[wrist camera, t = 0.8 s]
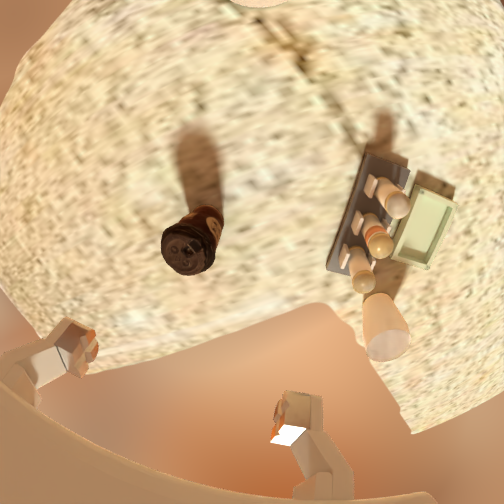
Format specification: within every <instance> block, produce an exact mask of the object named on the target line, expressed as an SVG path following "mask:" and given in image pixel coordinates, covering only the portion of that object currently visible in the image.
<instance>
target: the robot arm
mask: <svg viewBox="0 0 504 504" xmlns="http://www.w3.org/2000/svg"><path fill="white" fill-rule="evenodd" d="M230 1H232V2H234V3H236V4H239V5H243V6H247V7H257V8H259V7H270V6H275V5H279V4H282V3H284V2H286V1H288V0H230ZM95 336H96V333H95V330H93V329H91V328H89V327H87V326H85V325H83V324H81V323H79V322H77V321H75V320H73V319H71V318H69V317H65V318H63V319H62V320H61V321H60V323H59V324H58V325H57V326H56V327H55V328H54V329H53V331H52V332H51V333H50V334H49V335H48V337H47V338H46V339H43V338H42V339H40V340H37V341H34V342H31V343H29V344H26V345H23V346H21V347H18V348H16V349H13V350H10V351H7V352H4V354H3V355H2V356H1V357H0V504H438V503H437V502H436V500H435V499H434V498H433V497H432V496H431V495H430V494H428V493H427V492H417V493H411V494H405V495H399V496H392V497H383V498H373V499H360V500H354V471H353V470H352V469H351V467H350V466H349V464H348V463H347V461H346V460H345V458H344V457H343V456H342V454H341V453H340V451H339V449H338V448H337V447H336V445H335V443H334V442H333V441H332V439H331V437H330V436H329V434H328V433H327V432H326V431H323V398H322V396H317V395H310V394H305V393H300V392H293V391H287V390H286V391H284V393H283V395H282V399H280V400H279V401H278V403H277V405H276V408H275V412H274V417H273V420H274V422H275V423H276V424H275V425H274V427H273V428H272V433H271V441H270V442H272V443H277V444H283V445H289V446H290V448H291V450H292V452H293V454H294V456H295V458H296V460H297V463H298V465H299V467H300V469H301V471H302V473H303V474H304V477H305V479H306V480H305V481H303V482H302V483H300V484H298V485H297V486H295V487H294V488H293V497H292V499H285V498H275V497H265V496H259V495H251V494H245V493H240V492H234V491H229V490H224V489H219V488H215V487H211V486H207V485H203V484H199V483H195V482H192V481H188V480H185V479H181V478H178V477H175V476H172V475H169V474H165V473H163V472H160V471H157V470H154V469H151V468H149V467H146V466H143V465H141V464H138V463H136V462H133V461H131V460H129V459H126V458H124V457H122V456H119V455H117V454H115V453H113V452H111V451H109V450H107V449H104V448H102V447H100V446H98V445H96V444H94V443H92V442H90V441H88V440H87V439H85V438H83V437H81V436H79V435H77V434H76V433H74V432H72V431H71V430H69V429H67V428H66V427H64V426H62V425H61V424H59V423H57V422H56V421H54V420H53V419H51V418H50V417H48V416H47V415H45V414H44V413H42V412H40V411H39V410H38V409H37V407H38V406H39V404H40V402H41V401H42V397H41V395H40V394H39V392H38V391H37V389H38V388H40V387H41V386H43V385H45V384H47V383H49V382H50V381H52V380H54V379H56V378H58V377H59V376H61V375H63V374H65V373H67V372H69V373H71V374H73V375H75V376H77V377H79V378H81V379H82V378H83V376H84V375H85V373H86V372H87V370H88V369H89V366H88V363H90V362H93V361H94V359H95V358H96V356H97V353H98V349H99V345H98V342H97V340H96V339H95Z"/></svg>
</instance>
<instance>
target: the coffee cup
mask: <svg viewBox="0 0 504 504" xmlns="http://www.w3.org/2000/svg"><path fill="white" fill-rule="evenodd" d="M223 226H224V221H223V218H222V215H221V214H220V212H219V211H218V210H217V209H216V208H214V207H213V206H212V205H200V206H198V207H197V208H196V209H195V210H194V211H193V213H189V214H188V215H186V216H185V217H183V218H182V219H181V220H180V221H179V222H178V223H176V224H174V225H173V226H171V227H169V228H167V229H165V231H164V232H163V234H162V239H161V253H162V255H163V258H164V260H165V261H166V263H167V264H168V265H169V266H170V267H171V268H173V269H174V270H175V271H176V272H177V273H179V274H181V275H187V276H191V275H195V274H198V273H201V272H203V271H206V270H207V269H208V268H209V267H211V265H212V264H213V262H214V260H215V253H216V252H215V251H216V248H217V245H218V242H219V239H220V236H221V232H222V229H223Z"/></svg>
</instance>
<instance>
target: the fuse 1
mask: <svg viewBox="0 0 504 504" xmlns="http://www.w3.org/2000/svg"><path fill="white" fill-rule="evenodd" d="M349 252H350V256H349V258H348V260H347V264H348V267H349V271H350V275H351V279H352V284H353V288H354V290H355V291H356V292H358V293H361V294H364V293H368V292H370V291H371V290H373V289H374V287H375V285H376V279H375V276H374V274H373V272H372V269H371V267H370V264H369V261H368V259H367V256H366V253H365V251H364V249H363V248H362V247H361V246H352V247H350V248H349Z"/></svg>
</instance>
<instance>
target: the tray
mask: <svg viewBox="0 0 504 504" xmlns="http://www.w3.org/2000/svg"><path fill="white" fill-rule="evenodd" d="M410 202H411V208H410V211H409V213H408V214H407V215H406V216H405V217H403V218H402V220H401V222H400V225H399V227H398V229H397V232H396V234H395V236H394V239H393V245H394V246H393V250H392V252H391V254H390V255H389V257H390V259H391V260H395V261H398V262H402V263H405V264H408V265H412V266H415V267H418V268H422V269H425V270H429V268H430V266H431V264H432V262H433V260H434V258H435V257H436V255H437V253H438V250H439V248H440V246H441V244H442V242H443V240H444V238H445V236H446V234H447V231H448V229H449V227H450V225H451V222H452V220H453V218H454V215H455V213H456V211H457V208H458V206H459V205H458V204H457V203H456V202H454V201H453V200H451V199H449V198H447V197H445V196H442V195H440V194H438V193H436V192H433V191H431V190H429V189H427V188H424V187H422V186H420V185H417V184H415V186H414V189H413V192H412V194H411V197H410Z"/></svg>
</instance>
